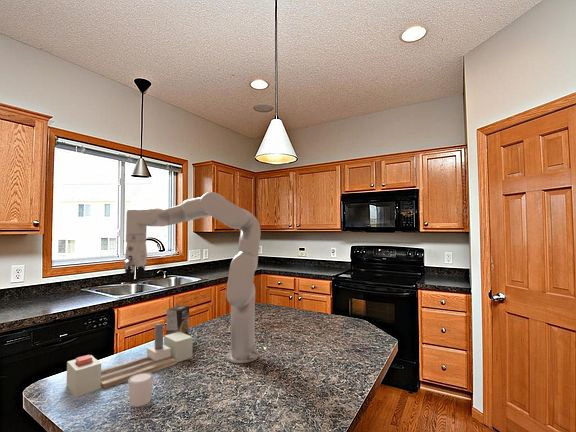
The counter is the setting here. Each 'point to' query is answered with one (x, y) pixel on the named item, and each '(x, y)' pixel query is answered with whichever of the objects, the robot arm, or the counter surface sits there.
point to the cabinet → (179, 345)
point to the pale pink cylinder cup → (140, 389)
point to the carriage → (158, 345)
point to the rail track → (132, 370)
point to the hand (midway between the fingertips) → (135, 280)
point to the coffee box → (177, 320)
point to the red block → (83, 360)
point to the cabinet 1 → (83, 377)
